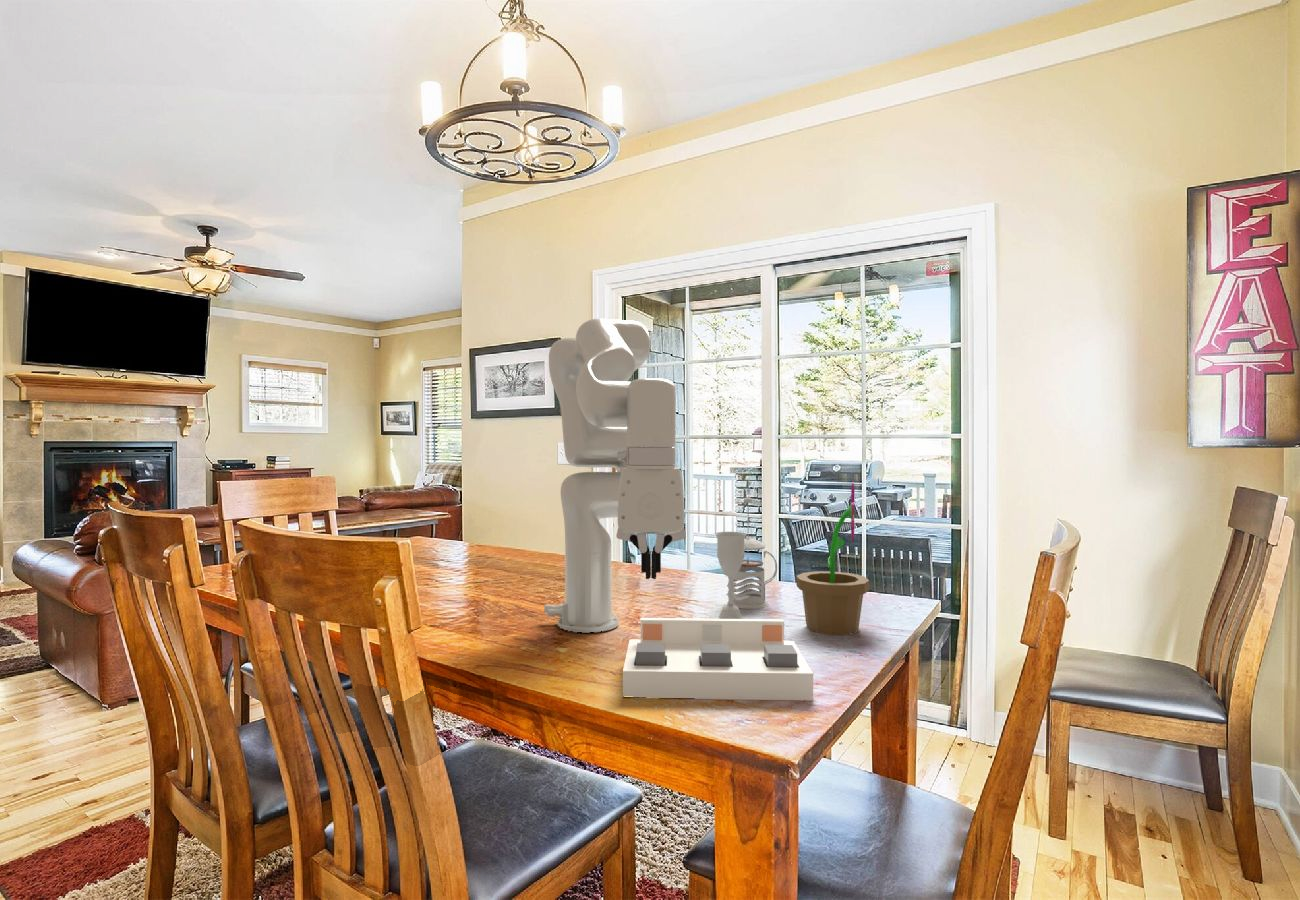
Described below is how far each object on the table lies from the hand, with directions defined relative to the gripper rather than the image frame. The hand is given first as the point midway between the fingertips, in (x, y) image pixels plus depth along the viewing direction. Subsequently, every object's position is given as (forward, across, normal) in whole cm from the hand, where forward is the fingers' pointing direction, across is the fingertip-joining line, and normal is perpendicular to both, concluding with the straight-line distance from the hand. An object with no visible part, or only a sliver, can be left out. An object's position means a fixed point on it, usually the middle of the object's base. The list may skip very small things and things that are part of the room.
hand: (651, 577), depth 104 cm
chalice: (+17, +16, +42) cm, 48 cm away
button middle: (+14, +10, 0) cm, 17 cm away
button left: (+14, 0, 0) cm, 14 cm away
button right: (+14, +20, 0) cm, 24 cm away
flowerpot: (+17, +36, +34) cm, 52 cm away
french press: (+17, +22, +54) cm, 61 cm away
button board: (+17, +10, +3) cm, 20 cm away
